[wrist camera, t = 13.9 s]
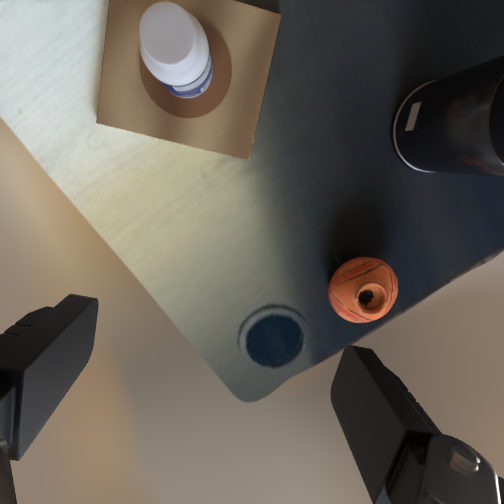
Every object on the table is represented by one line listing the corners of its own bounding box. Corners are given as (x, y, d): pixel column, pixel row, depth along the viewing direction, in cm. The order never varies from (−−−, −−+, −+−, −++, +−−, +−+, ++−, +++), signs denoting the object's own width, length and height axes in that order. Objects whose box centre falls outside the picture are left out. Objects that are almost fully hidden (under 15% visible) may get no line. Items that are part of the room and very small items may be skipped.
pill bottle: (148, 49, 32) (114, 4, 22) (200, 29, 31) (188, -25, 22) (171, 107, 33) (147, 87, 24) (221, 88, 33) (217, 60, 24)
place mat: (280, 17, 32) (282, 13, 31) (248, 160, 36) (249, 160, 35) (115, -33, 31) (111, -40, 29) (99, 123, 34) (94, 122, 33)
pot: (332, 323, 42) (345, 340, 35) (314, 265, 42) (323, 271, 35) (394, 304, 41) (418, 318, 35) (376, 245, 41) (397, 248, 34)
